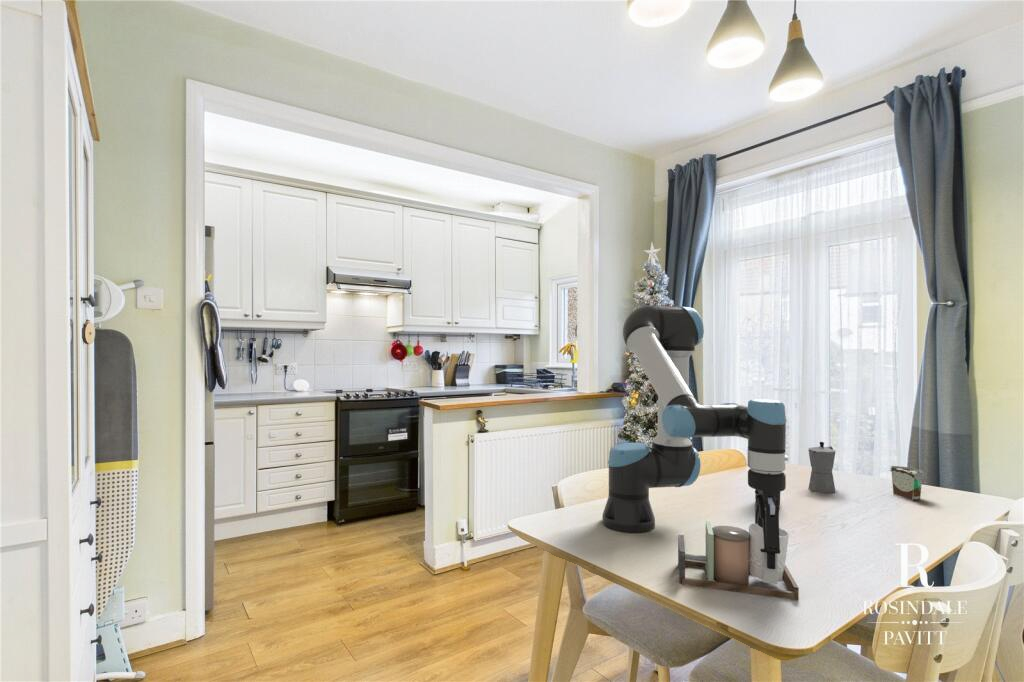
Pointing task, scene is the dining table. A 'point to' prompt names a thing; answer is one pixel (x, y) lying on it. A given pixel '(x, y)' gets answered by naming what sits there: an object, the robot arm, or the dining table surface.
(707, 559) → the pusher plate
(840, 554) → the dining table surface
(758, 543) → the white cup
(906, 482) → the food container
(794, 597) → the brown wooden rack
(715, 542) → the terracotta jar
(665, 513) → the dining table surface
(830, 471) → the coffeepot
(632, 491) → the robot arm
